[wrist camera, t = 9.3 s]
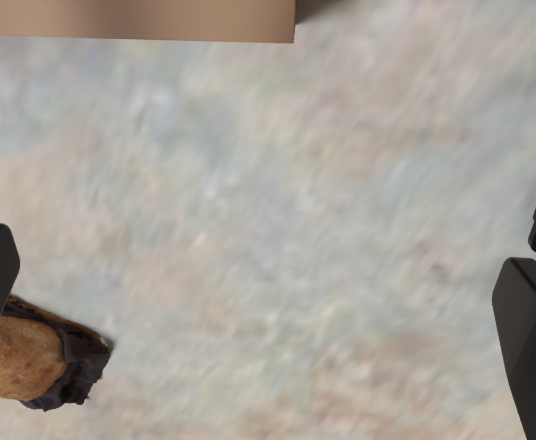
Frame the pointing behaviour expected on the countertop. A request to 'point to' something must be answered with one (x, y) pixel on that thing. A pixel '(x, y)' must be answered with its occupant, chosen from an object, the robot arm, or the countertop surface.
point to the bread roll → (46, 358)
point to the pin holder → (152, 19)
